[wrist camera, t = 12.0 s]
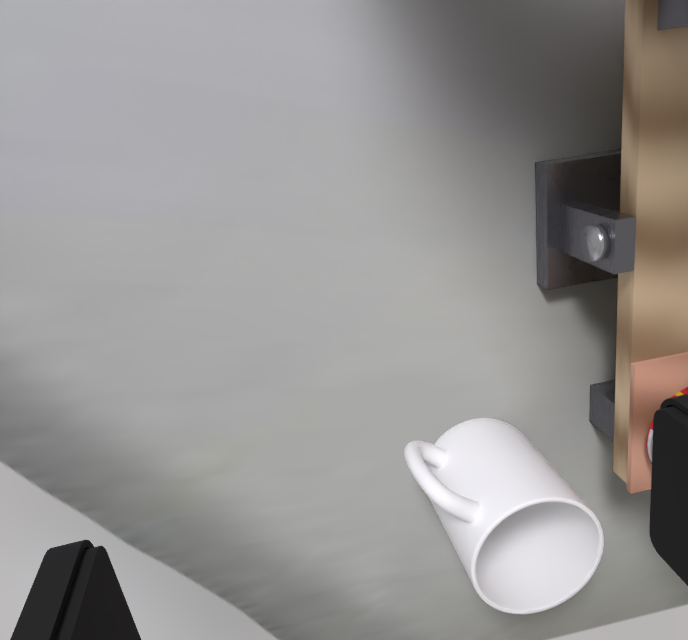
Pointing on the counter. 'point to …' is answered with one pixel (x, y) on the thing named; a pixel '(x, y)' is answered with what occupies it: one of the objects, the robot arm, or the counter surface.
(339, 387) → the counter surface
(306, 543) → the counter surface
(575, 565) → the cup
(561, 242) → the beam stand
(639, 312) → the beam
